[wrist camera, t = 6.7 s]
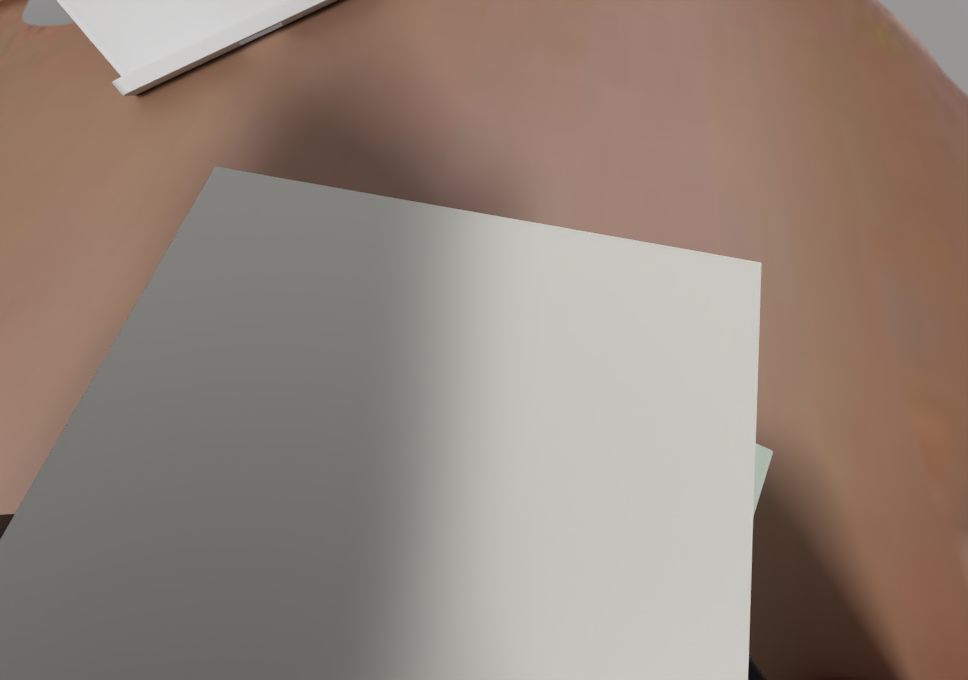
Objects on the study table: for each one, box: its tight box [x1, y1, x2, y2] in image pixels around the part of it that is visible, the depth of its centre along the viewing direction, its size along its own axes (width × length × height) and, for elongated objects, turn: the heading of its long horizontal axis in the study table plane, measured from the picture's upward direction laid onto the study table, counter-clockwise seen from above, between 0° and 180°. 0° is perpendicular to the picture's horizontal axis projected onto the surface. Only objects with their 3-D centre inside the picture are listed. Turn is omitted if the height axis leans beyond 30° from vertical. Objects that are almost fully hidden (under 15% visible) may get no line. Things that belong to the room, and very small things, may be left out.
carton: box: [0, 166, 761, 680], centre depth 9 cm, size 5×5×14 cm
